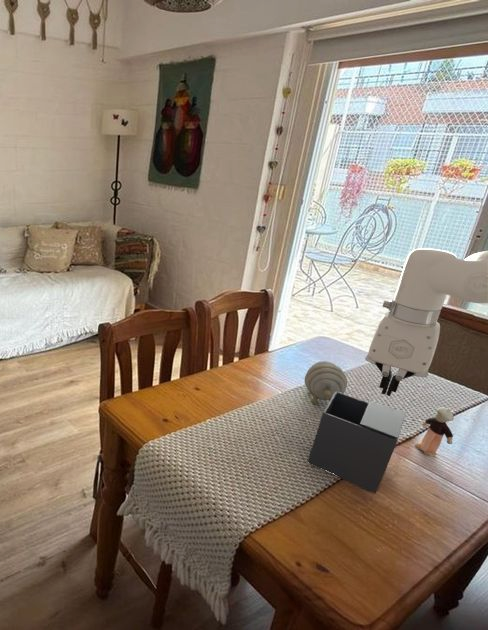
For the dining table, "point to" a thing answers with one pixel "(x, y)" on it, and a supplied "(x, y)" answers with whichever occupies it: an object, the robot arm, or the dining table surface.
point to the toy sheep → (325, 380)
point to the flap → (383, 419)
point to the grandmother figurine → (436, 432)
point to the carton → (351, 444)
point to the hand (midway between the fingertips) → (386, 392)
